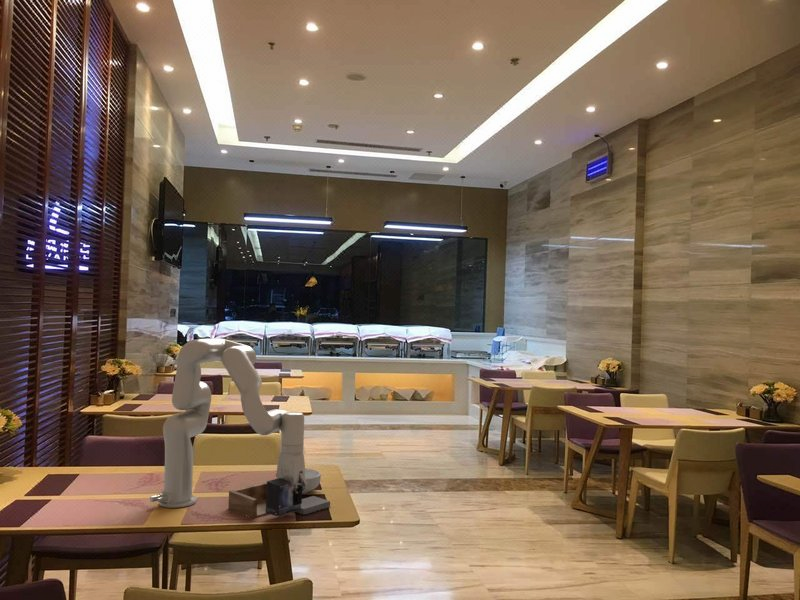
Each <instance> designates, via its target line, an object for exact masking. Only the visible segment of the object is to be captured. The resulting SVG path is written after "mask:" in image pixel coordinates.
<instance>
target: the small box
mask: <svg viewBox="0 0 800 600" xmlns="http://www.w3.org/2000/svg"><path fill="white" fill-rule="evenodd" d="M266 482H267V495H266V511H265V512H266V513H269V514H268V515H272V516H274V517H281V516H284V515H287V514H290V513H292V512H293V513H294V511H297V510H300V509H301V504H299V505H293V495H294V493H295V491H294V485H291V482H289V481H287V480H284V479H281V478H278V479H276V478H274V479H271V480H267V481H266ZM297 483H299V481H298V482H297ZM297 488H299V485H297Z"/></svg>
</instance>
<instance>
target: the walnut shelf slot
mask: <svg viewBox="0 0 800 600" xmlns="http://www.w3.org/2000/svg"><path fill="white" fill-rule="evenodd" d="M266 495H267V481H266V482H262V483H258V484H255V485H254V484H253V485H250V486H245V487H241V488H237V489H232V490H228V510H231V511H233V510H234V512H236V513H238V512H239V514H241V515H243V514H244V515H243V516H246V515H247V516H246V517H248V516H249V517H248V518H251V519H255V518H260V517H264V516H265V515H266V514H267V515H270V514H269V513H266V512H265V511H266ZM263 515H264V516H263ZM259 516H260V517H259Z"/></svg>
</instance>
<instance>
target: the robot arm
mask: <svg viewBox="0 0 800 600" xmlns="http://www.w3.org/2000/svg"><path fill="white" fill-rule="evenodd" d="M256 361H257V354H256V351H255V350H254V349H253V348H252V347H251V346H249V345H248V344H243V343H240V342H236V341H232V340H229V339H225V338H220V337H218V338H217V337H216V338H213V337H212V338H198V339H194V340H191V341H188V342H186V343H185V344H184V345H182V347H181V348H180V350H179V352H178V356H177V361H176V362H177V363H176V371H175V372H176V373H175V376H174V377H175V378H174V383H173V389H172V396H171V404H172V405H173V407H174V408H175V409H176V410H179V411H183V412H178V413H175V414H172V415H170V416H169V417H167V419H166V420H165V421H164V423H163V426H162V434H163V440H164V475H163V476H164V480H163V483H164V484H163V490H161V491H160V493H158V495H152V496H150V497H149V501H150V503H154V502H157V503H158V505H159V506H161V507H162V508H169V509H170V508H171V509H173V508H174V509H175V508H176V509H177V508H184V507H188V506H191V505H194V504H196V502H197V496H195V495H194V494H193V485H194V484H193V483H194V481H193V478H194V448H193V443H192V440H191V438H193V437H196V436H199V435H201V434H203V432H204V431H205V430H206V428H207V425H208V421H209V420H208V419H209V416H210V409H211V404H212V403H211V402H212V391H211V388H210V386H209V385H208V384H207V383H206V382H205V381H201V377H202V368H201V364H203V363H204V364H205V363H214V362H220V363H222V365H223V366H224V368H225V370H226V372H227V373H228V375H229V377H230V379H231V380H232V381H233V383H234V385H235V387H236V389H237V390H238V392H239V394H240V403H241V409H242V412H243V414H244V417H245V418H246V421H247V422H248V423H249V425H250V427H251V428H252V429H253V430H254V431H255V433H256V434H258V435H260V436H269V435H271V434H273V433H277V432H280V431H281V432H280V433H281V434H280V435H281V437H280V438H281V439H280V451H279V453H278V458H277V463H276V473H275V477H276V478H277V479H278V478H281V479H284V480H287V481H289V482H291V485H294V491H295V493H294V495H293V505H299V504H301V503H302V499H303V494H302V492H303V490H304V489H305V487H306V486H307V484H308V483H307V481H306V479H305V468H306V465H305V464H306V463H305V455H304V439H305V415H304V413H303V412H301V411H293V410H292V411H288V410H283V409H280V408H275V409H271V410H267V409H266V408H265V405H264V404H263V402H262V400H261V397H260V389H261V387H262V383H263V380H262V378H261V376H260V374H259V372H258V371H257V369H256V368H255V366H254V365H255V363H256ZM276 478H275V479H276ZM298 481H299V483H297V482H298ZM297 485H299V488H297Z"/></svg>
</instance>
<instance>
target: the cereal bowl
mask: <svg viewBox="0 0 800 600" xmlns="http://www.w3.org/2000/svg"><path fill="white" fill-rule="evenodd" d="M321 477H322V473H321V472H320V471H318V470H316V469H312V468H306V467H305V479H306V481H307V483H308V484H307V486H306V487H305V489H304V490H303V492H302V495H305V494H308V493H309V492H311V491H313V490H315V489H316V488H318V486H319V484H320V483H321ZM275 479H277V478H275ZM307 492H308V493H307Z"/></svg>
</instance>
